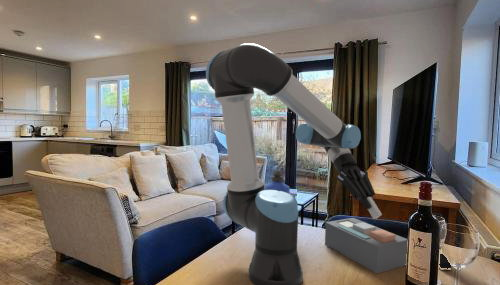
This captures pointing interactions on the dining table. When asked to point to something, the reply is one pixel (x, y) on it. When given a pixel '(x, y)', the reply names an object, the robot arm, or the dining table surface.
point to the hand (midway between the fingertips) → (377, 216)
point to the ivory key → (347, 224)
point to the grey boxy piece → (366, 247)
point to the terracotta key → (382, 236)
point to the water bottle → (277, 183)
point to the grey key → (364, 228)
